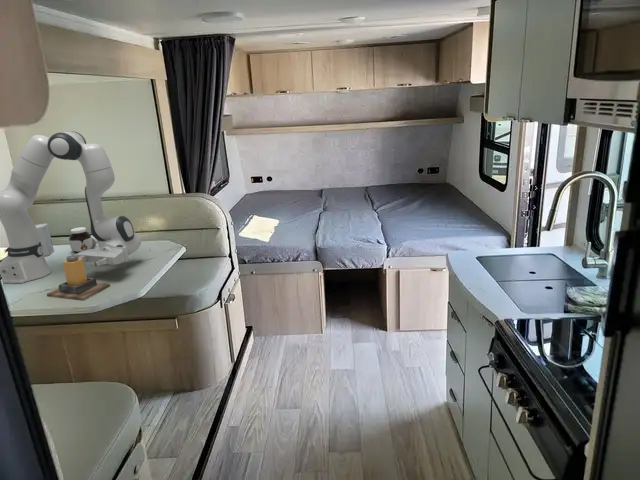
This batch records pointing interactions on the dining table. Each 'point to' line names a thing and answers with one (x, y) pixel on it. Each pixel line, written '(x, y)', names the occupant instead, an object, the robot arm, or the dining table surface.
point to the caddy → (79, 290)
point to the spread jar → (81, 240)
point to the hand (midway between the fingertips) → (86, 263)
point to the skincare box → (45, 239)
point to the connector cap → (74, 270)
